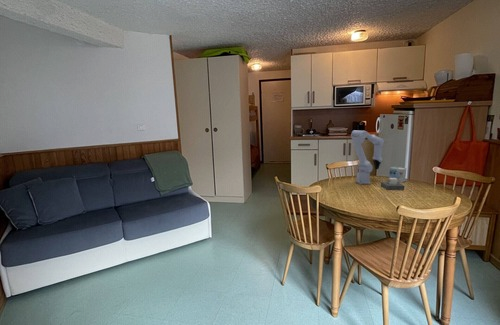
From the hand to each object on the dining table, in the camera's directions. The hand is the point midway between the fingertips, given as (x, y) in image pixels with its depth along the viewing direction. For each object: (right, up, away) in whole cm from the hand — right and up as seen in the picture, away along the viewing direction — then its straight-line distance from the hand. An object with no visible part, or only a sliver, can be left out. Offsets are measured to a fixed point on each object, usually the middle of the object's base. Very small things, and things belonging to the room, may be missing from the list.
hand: (376, 169), depth 222 cm
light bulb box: (+16, -10, -1) cm, 19 cm away
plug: (+2, -12, -21) cm, 25 cm away
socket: (+2, -13, -21) cm, 25 cm away
